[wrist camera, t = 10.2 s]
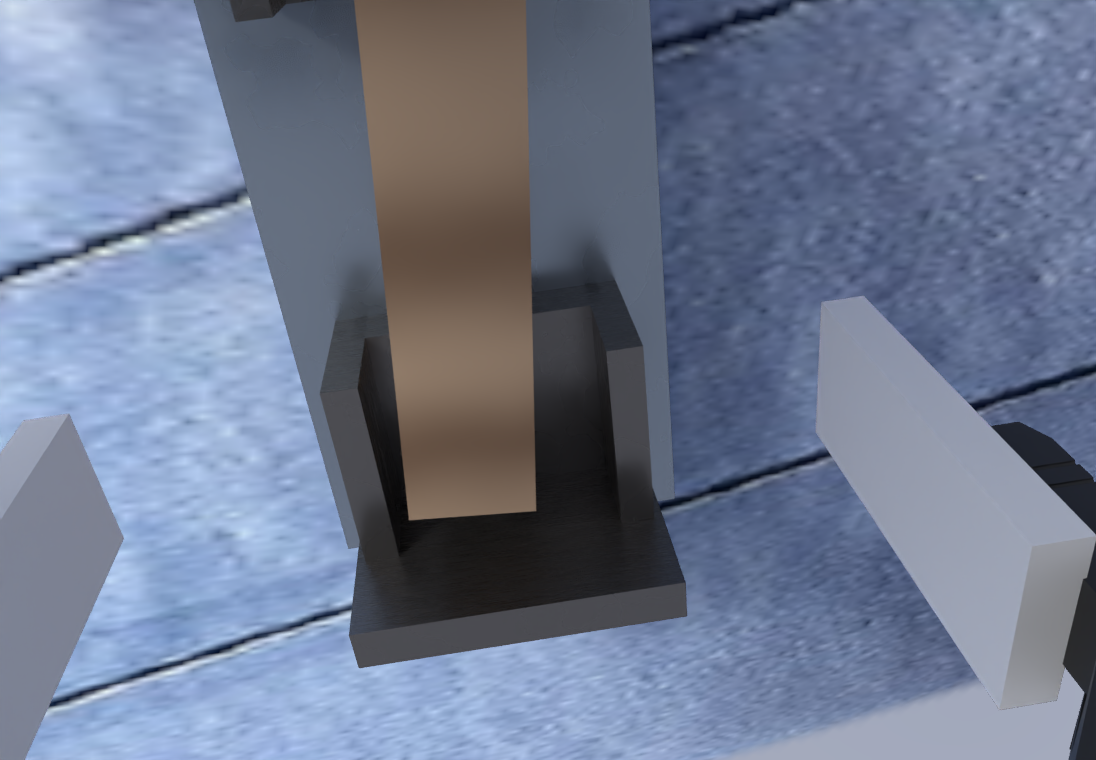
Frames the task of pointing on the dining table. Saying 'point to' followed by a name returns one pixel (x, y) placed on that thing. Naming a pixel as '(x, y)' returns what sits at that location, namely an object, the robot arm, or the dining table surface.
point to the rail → (455, 245)
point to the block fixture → (557, 323)
